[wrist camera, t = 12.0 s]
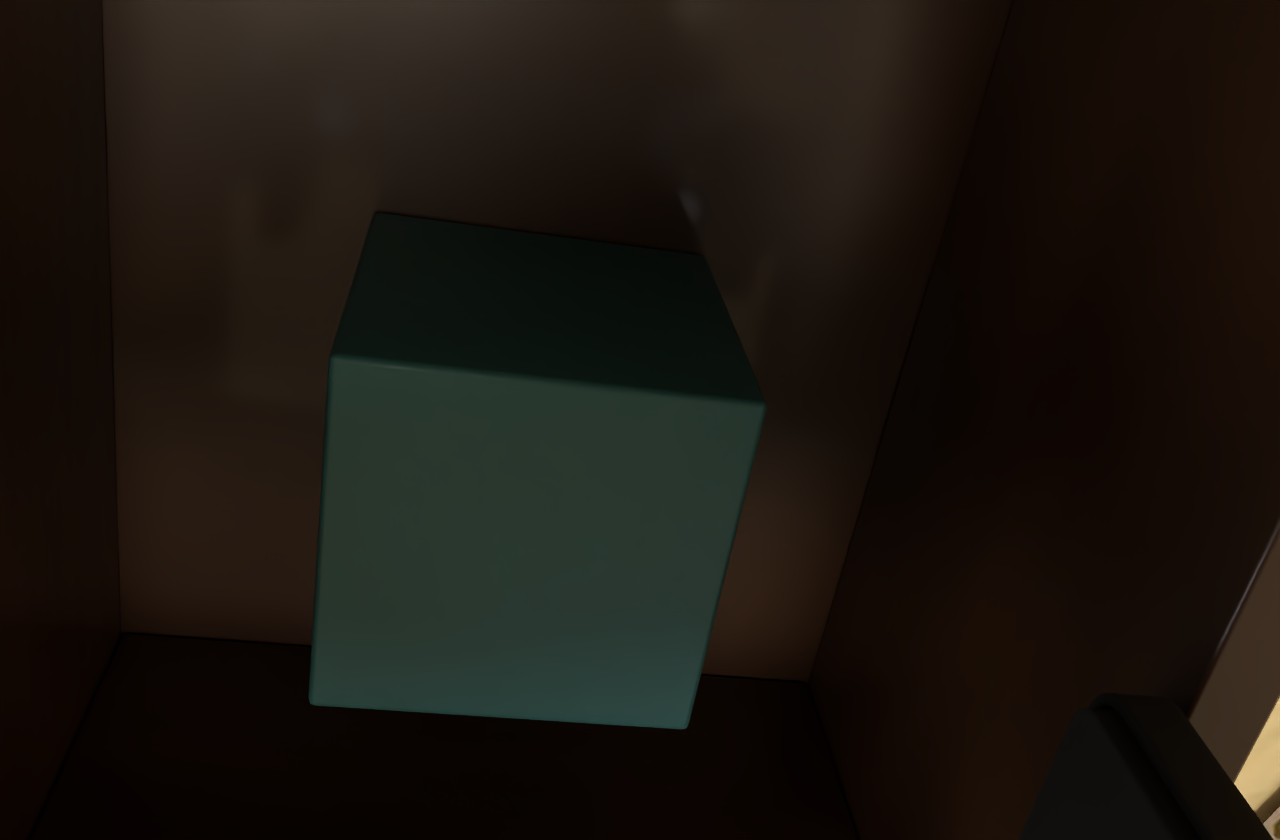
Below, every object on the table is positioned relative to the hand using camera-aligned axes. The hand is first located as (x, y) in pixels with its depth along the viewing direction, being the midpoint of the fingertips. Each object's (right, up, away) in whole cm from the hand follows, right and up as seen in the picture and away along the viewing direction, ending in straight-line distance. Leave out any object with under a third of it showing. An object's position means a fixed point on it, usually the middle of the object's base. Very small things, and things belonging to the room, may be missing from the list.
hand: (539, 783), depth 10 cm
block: (-1, +4, +7) cm, 8 cm away
